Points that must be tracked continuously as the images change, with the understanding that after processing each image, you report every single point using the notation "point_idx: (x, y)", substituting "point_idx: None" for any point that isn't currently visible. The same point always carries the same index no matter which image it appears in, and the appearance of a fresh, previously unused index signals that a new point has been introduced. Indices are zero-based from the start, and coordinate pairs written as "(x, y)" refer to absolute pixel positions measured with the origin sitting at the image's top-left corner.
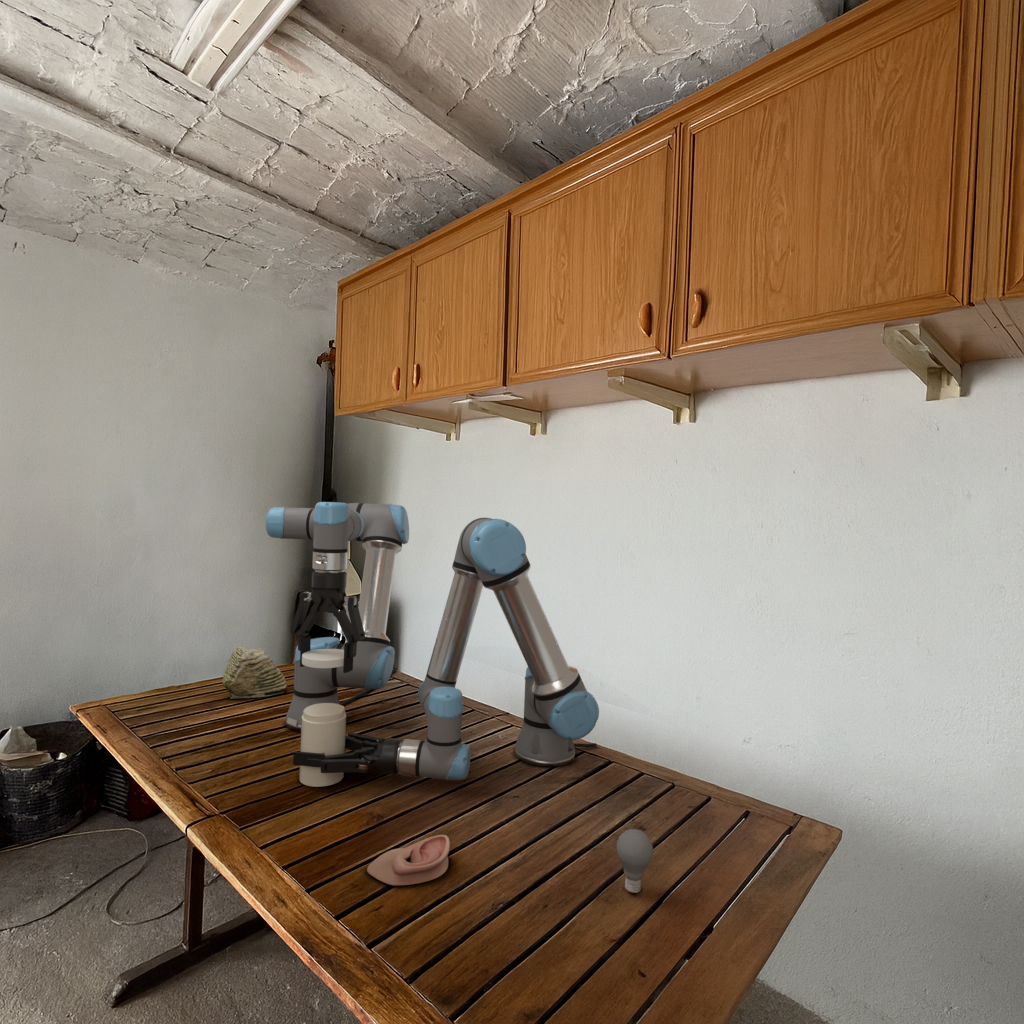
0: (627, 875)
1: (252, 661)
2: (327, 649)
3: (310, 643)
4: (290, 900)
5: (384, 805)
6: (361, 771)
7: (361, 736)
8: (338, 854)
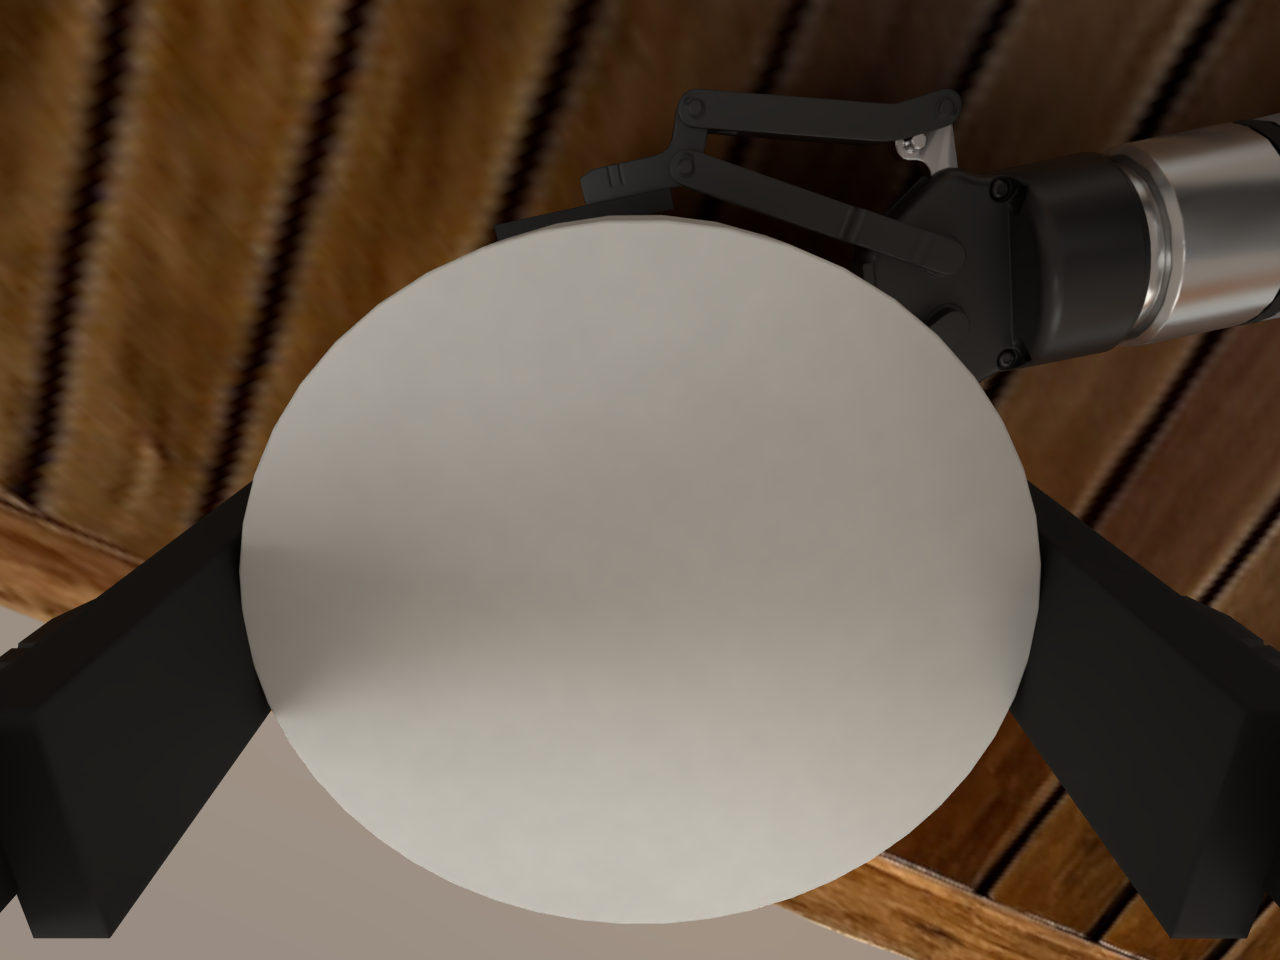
0: None
1: None
2: (438, 350)
3: (153, 613)
4: (957, 927)
5: (1024, 448)
6: None
7: (790, 127)
8: (988, 755)
